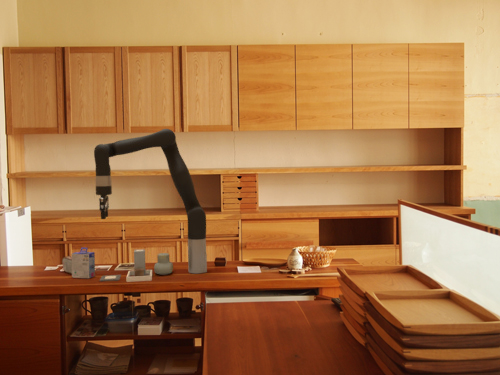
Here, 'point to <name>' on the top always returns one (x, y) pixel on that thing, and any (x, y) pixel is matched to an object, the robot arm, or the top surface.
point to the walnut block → (139, 272)
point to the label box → (139, 259)
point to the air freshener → (163, 264)
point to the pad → (110, 278)
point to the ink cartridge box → (83, 264)
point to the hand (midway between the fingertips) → (104, 218)
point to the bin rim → (139, 278)
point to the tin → (67, 264)
